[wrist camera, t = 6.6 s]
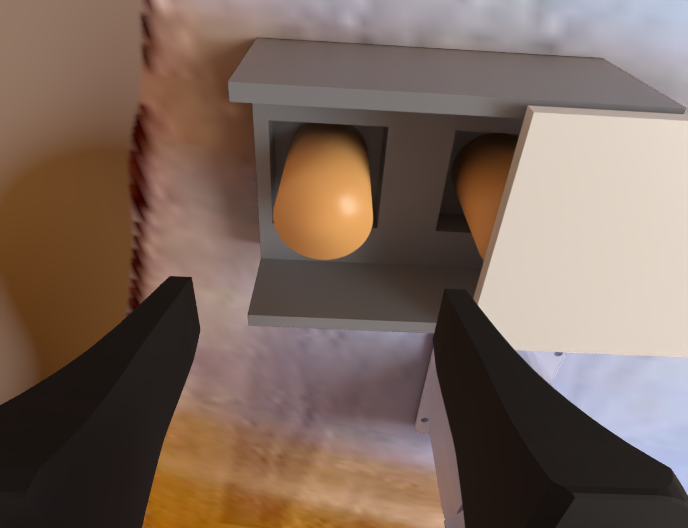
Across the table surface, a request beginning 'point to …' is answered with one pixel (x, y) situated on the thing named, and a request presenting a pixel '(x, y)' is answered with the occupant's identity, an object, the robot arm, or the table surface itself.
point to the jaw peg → (325, 192)
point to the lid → (592, 235)
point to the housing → (398, 164)
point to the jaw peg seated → (483, 182)
